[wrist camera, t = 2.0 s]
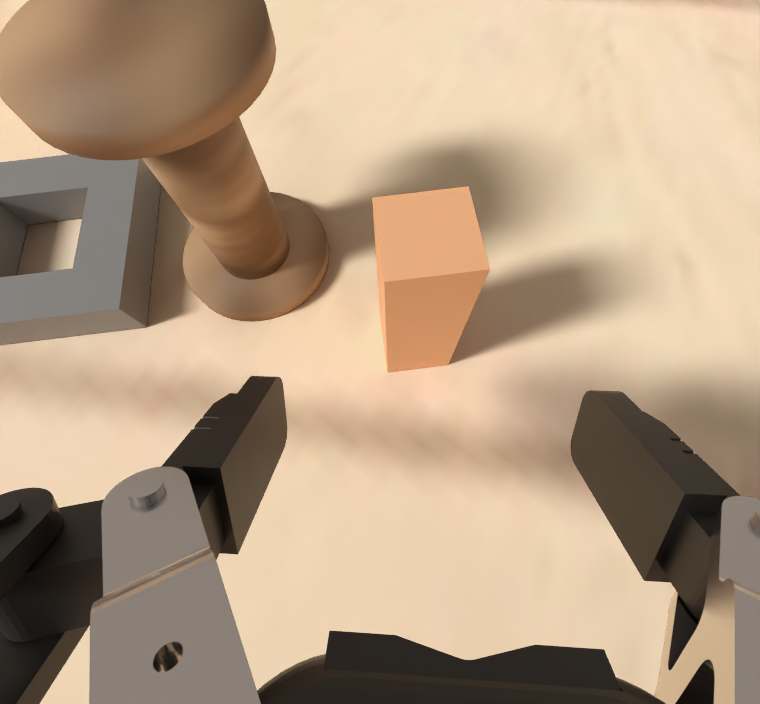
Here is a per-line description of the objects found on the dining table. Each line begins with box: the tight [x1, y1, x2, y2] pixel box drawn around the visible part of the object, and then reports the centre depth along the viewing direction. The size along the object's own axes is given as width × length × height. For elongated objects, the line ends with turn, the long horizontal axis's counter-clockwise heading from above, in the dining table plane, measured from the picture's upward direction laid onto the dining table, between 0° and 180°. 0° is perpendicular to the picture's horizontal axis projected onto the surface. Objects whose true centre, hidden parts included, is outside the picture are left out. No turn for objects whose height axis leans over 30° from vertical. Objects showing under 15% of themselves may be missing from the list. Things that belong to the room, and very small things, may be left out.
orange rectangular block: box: [372, 186, 490, 372], centre depth 18 cm, size 4×4×10 cm
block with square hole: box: [0, 154, 161, 345], centre depth 24 cm, size 12×12×2 cm
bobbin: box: [0, 0, 329, 321], centre depth 19 cm, size 9×9×13 cm
